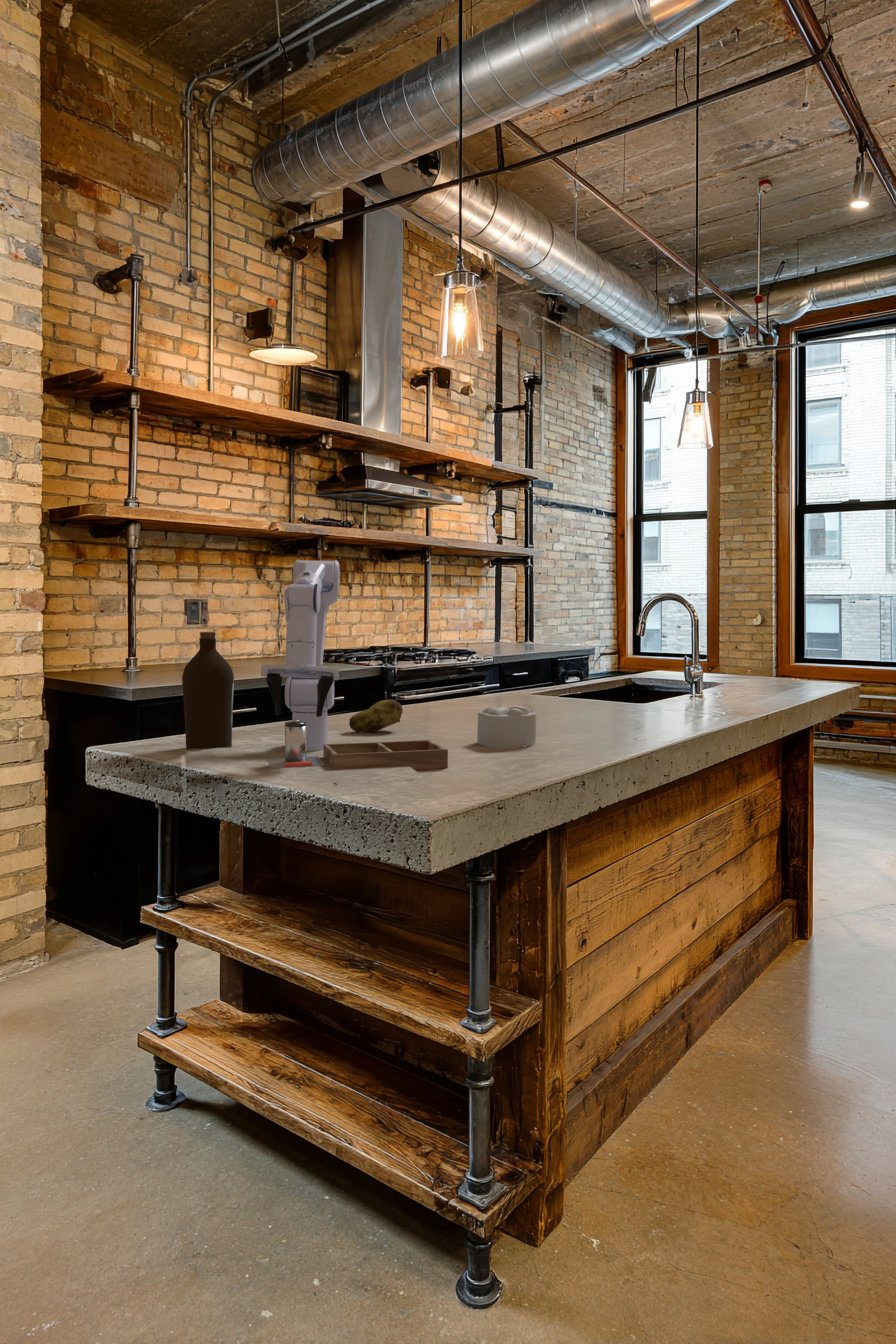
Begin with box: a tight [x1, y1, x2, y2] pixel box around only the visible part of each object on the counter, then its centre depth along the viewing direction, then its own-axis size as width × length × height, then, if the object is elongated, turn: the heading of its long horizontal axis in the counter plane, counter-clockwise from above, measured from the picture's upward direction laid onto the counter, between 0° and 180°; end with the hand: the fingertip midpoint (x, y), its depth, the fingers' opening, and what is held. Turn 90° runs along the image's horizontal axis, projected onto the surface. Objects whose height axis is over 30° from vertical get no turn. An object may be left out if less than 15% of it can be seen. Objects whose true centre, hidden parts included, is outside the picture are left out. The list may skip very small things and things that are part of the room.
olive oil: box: [181, 631, 235, 750], centre depth 178 cm, size 11×11×25 cm
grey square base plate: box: [266, 755, 327, 769], centre depth 160 cm, size 10×10×2 cm
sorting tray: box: [322, 739, 449, 770], centre depth 163 cm, size 12×22×4 cm, turn 108°
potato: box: [348, 698, 404, 733], centre depth 205 cm, size 8×13×8 cm, turn 91°
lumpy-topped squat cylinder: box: [476, 704, 537, 749], centre depth 189 cm, size 10×13×9 cm
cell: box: [284, 719, 307, 763], centre depth 159 cm, size 4×4×8 cm
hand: (298, 715), depth 157 cm, fingers open, 7 cm apart
